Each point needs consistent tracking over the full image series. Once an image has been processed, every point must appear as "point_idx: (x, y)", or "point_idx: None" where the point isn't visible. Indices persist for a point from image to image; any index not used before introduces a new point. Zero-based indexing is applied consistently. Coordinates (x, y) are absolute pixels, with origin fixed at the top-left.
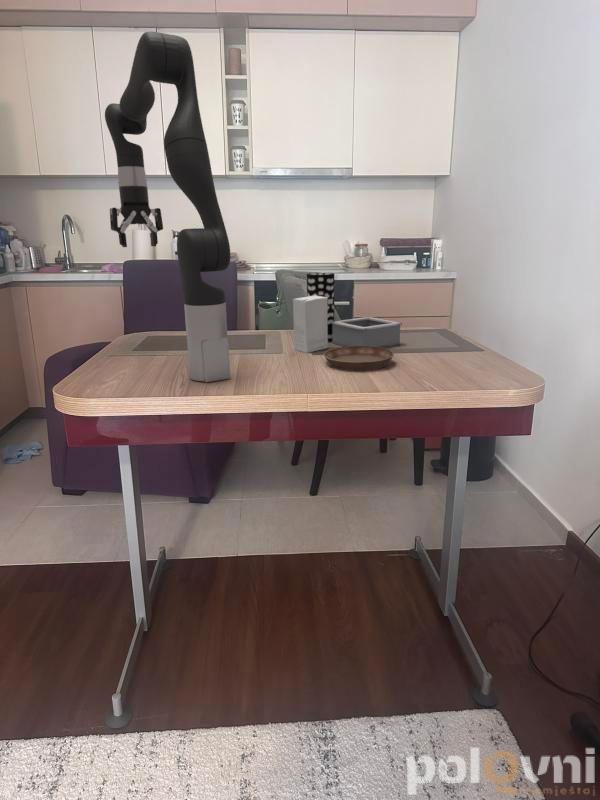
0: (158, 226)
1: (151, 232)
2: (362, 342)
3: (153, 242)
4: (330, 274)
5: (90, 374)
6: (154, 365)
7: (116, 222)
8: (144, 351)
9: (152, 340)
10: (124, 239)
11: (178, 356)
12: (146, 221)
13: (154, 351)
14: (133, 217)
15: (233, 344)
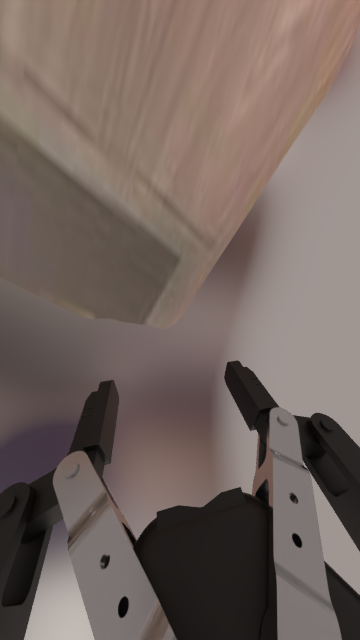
0: (26, 521)
1: (102, 461)
2: None
3: (110, 394)
4: None
5: (277, 133)
6: (190, 112)
7: (356, 468)
8: (168, 243)
9: (139, 309)
10: (250, 382)
11: (135, 159)
12: (133, 550)
13: (157, 233)
14: (280, 570)
15: (10, 191)
